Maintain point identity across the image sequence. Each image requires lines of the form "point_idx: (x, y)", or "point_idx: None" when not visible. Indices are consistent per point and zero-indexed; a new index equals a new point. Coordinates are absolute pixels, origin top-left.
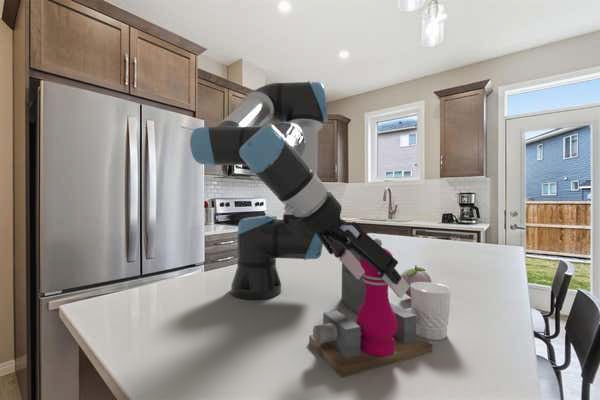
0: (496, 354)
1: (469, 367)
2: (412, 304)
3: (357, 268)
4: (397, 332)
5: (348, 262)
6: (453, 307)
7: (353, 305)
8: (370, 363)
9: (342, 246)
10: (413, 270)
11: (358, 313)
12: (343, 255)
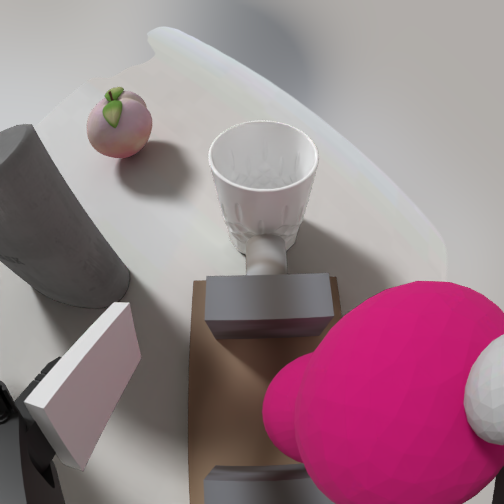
0: (362, 193)
1: (389, 263)
2: (245, 221)
3: (116, 354)
4: (299, 332)
5: (93, 414)
6: (195, 123)
7: (83, 303)
8: None
9: (32, 483)
10: (113, 105)
11: (299, 459)
12: (59, 446)
